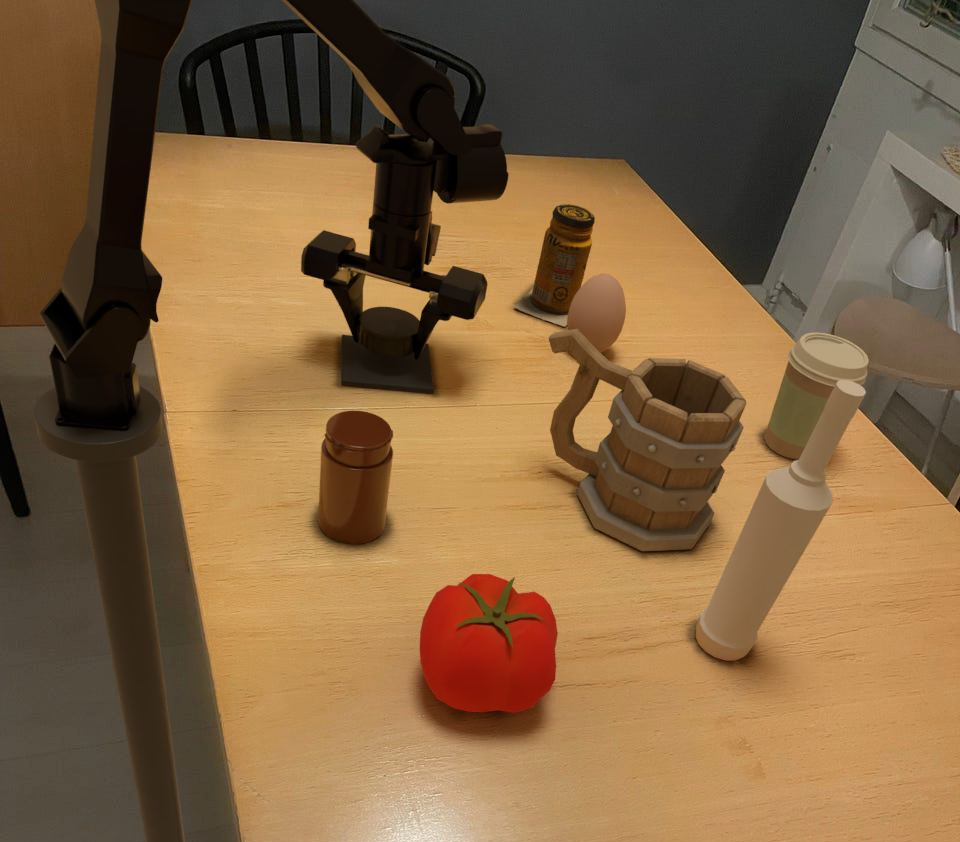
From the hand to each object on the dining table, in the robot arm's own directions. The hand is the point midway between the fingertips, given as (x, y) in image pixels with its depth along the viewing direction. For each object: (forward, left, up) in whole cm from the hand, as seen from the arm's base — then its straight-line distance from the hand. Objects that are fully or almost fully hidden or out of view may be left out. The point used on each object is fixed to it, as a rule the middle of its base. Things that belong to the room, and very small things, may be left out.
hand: (387, 349), depth 100 cm
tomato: (+6, -47, -2) cm, 47 cm away
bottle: (+28, -41, -2) cm, 50 cm away
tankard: (+22, -21, -2) cm, 31 cm away
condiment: (+22, +19, -2) cm, 29 cm away
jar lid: (0, 0, +3) cm, 3 cm away
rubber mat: (0, 0, -2) cm, 2 cm away
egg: (+25, +8, -2) cm, 26 cm away
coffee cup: (+46, -9, -2) cm, 47 cm away
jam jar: (-4, -28, -2) cm, 28 cm away
